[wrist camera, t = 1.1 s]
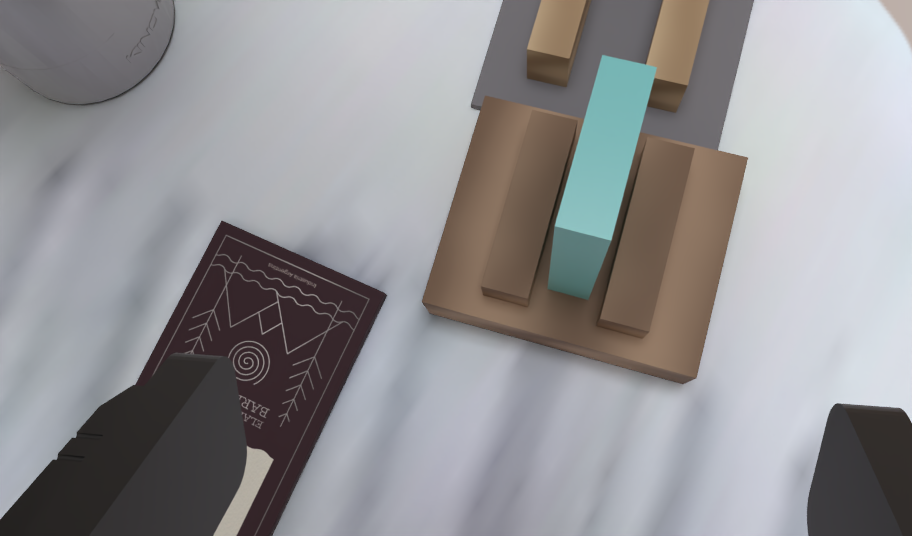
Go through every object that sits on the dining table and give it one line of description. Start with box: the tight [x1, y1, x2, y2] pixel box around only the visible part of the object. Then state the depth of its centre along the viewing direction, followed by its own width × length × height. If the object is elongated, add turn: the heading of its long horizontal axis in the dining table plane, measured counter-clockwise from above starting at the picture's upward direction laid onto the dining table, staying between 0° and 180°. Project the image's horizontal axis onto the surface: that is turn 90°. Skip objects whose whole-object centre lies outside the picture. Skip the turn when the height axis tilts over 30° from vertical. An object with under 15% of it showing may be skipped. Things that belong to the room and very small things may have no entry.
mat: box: [471, 0, 754, 150], centre depth 41 cm, size 12×12×1 cm
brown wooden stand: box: [422, 96, 748, 384], centre depth 36 cm, size 12×10×5 cm
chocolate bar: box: [135, 221, 387, 536], centre depth 38 cm, size 9×1×18 cm
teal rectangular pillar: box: [547, 55, 657, 300], centre depth 31 cm, size 2×6×10 cm, turn 163°
